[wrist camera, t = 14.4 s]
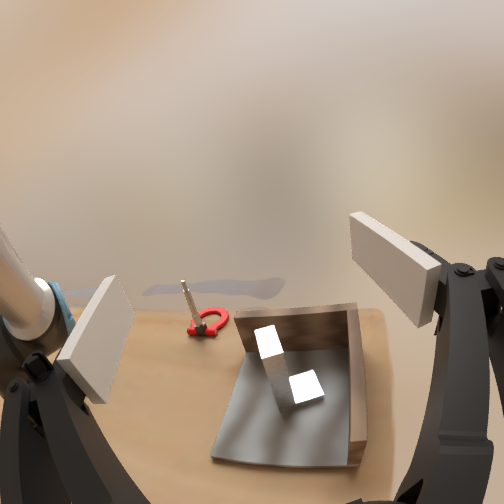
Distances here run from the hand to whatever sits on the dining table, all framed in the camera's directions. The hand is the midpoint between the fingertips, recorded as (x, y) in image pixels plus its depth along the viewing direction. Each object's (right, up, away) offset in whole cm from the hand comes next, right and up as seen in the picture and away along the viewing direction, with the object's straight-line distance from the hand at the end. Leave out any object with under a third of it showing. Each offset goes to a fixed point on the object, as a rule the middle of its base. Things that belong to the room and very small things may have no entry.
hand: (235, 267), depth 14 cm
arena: (+7, -21, +21) cm, 30 cm away
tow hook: (-8, -15, +43) cm, 47 cm away
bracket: (+7, -19, +21) cm, 29 cm away
